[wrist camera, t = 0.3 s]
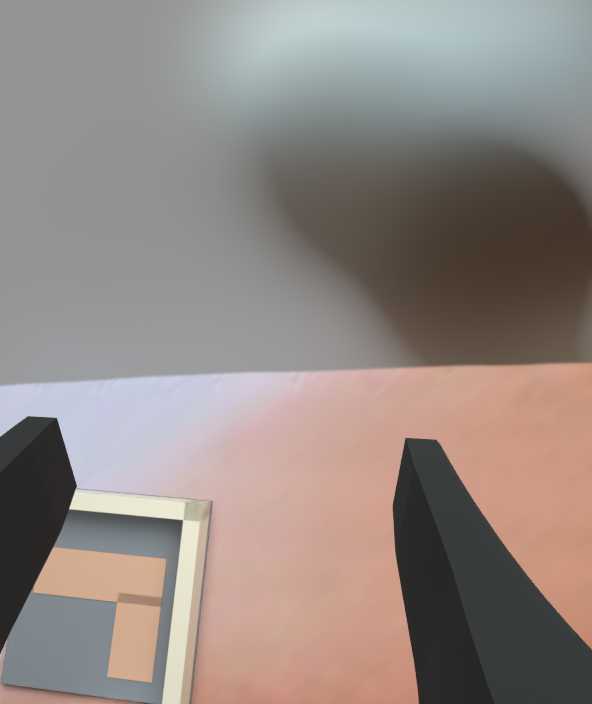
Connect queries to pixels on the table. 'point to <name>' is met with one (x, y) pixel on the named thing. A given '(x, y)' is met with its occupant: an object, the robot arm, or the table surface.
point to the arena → (116, 601)
